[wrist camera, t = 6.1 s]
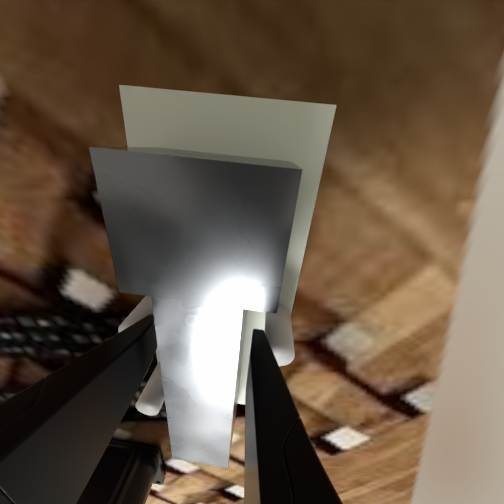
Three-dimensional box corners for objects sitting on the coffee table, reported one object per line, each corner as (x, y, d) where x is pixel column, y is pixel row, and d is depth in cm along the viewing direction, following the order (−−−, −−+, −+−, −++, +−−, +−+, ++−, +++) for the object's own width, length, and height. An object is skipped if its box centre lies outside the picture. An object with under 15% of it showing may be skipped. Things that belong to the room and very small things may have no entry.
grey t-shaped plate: (253, 403, 14) (247, 471, 11) (178, 391, 14) (153, 455, 11) (291, 161, 8) (302, 169, 5) (157, 147, 8) (88, 146, 5)
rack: (270, 385, 15) (269, 454, 12) (171, 370, 15) (141, 433, 12) (326, 112, 8) (363, 86, 5) (143, 95, 8) (55, 58, 5)
